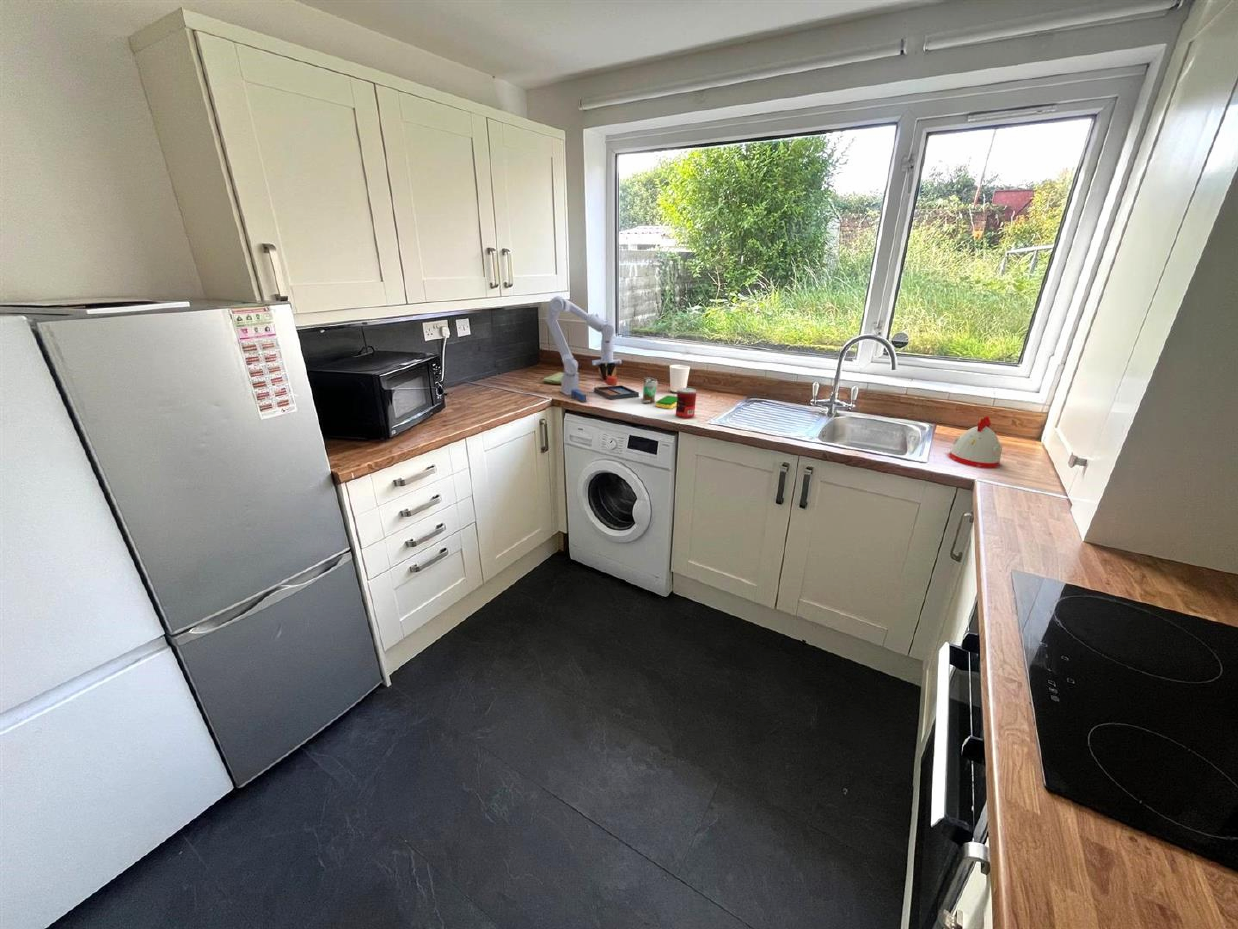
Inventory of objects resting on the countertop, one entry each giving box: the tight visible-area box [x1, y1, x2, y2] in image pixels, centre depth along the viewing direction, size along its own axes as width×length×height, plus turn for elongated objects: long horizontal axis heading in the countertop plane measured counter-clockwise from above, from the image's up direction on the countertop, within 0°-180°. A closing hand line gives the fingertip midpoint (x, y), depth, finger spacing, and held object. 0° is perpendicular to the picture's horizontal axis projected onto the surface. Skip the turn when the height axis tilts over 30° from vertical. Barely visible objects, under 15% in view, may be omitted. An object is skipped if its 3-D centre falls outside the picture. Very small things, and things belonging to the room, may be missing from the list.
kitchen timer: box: [948, 416, 1003, 469], centre depth 164 cm, size 14×14×15 cm
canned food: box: [675, 387, 697, 419], centre depth 205 cm, size 8×8×11 cm
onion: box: [598, 364, 617, 378], centre depth 267 cm, size 10×10×10 cm
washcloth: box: [542, 372, 564, 386], centre depth 260 cm, size 13×18×3 cm
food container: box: [642, 376, 659, 405], centre depth 226 cm, size 12×6×10 cm, turn 179°
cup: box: [669, 364, 691, 394], centre depth 245 cm, size 10×10×13 cm
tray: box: [593, 384, 640, 401], centre depth 238 cm, size 15×17×2 cm
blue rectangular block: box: [570, 388, 587, 403], centre depth 227 cm, size 4×11×3 cm, turn 28°
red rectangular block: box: [600, 374, 618, 386], centre depth 234 cm, size 4×11×3 cm, turn 28°
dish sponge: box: [655, 395, 677, 410], centre depth 223 cm, size 7×14×2 cm, turn 154°
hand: (606, 379), depth 236 cm, fingers closed on red rectangular block, 2 cm apart
